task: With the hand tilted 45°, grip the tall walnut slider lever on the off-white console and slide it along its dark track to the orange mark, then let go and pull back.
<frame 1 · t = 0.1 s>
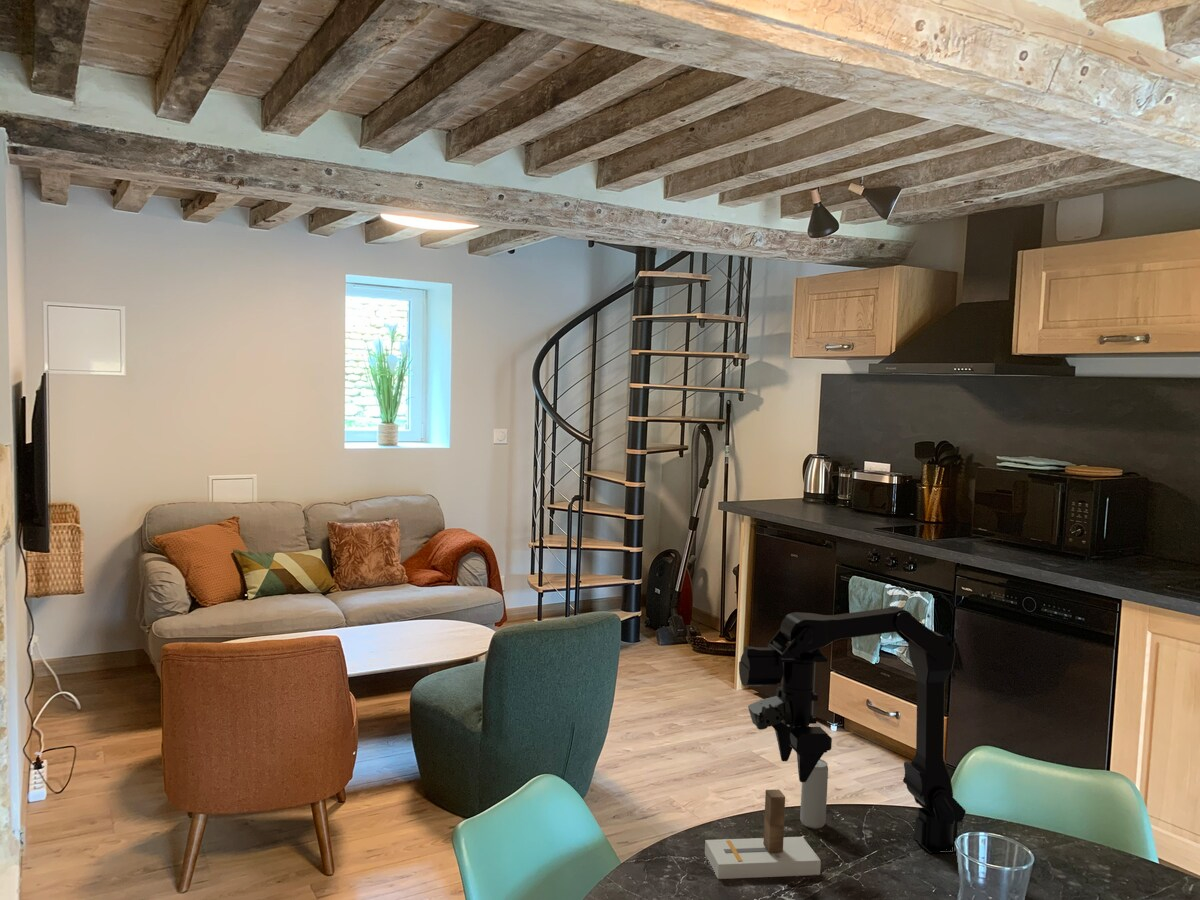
hand: (793, 771, 161), 15 cm above the table, tool pointing down, fingers open, 9 cm apart
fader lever: (774, 820, 156), point 8 cm above the table, slide at 0.0 cm
fader console: (761, 864, 156), on the table
beverage can: (812, 824, 172), on the table
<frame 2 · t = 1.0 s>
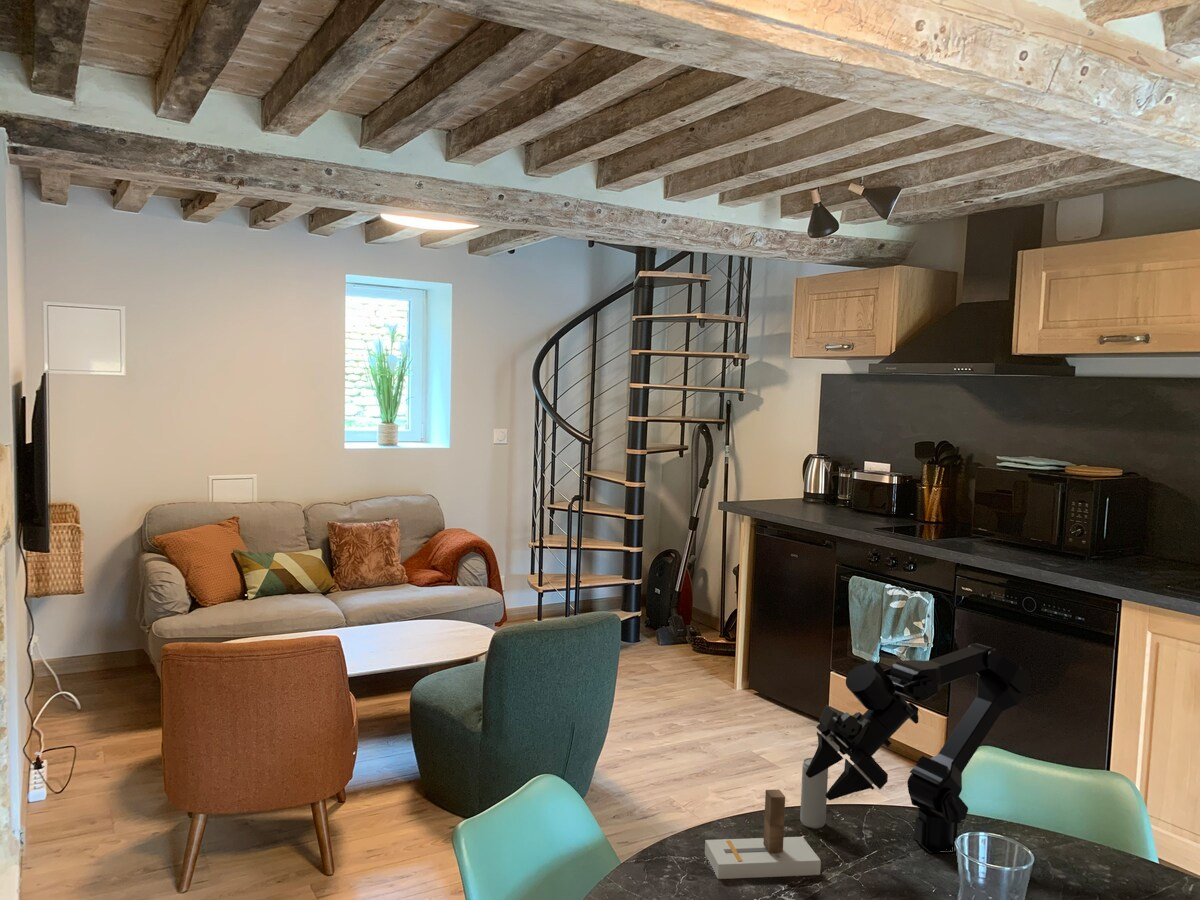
hand: (816, 786, 157), 13 cm above the table, tool tilted 45°, fingers open, 9 cm apart
nothing on the table moved.
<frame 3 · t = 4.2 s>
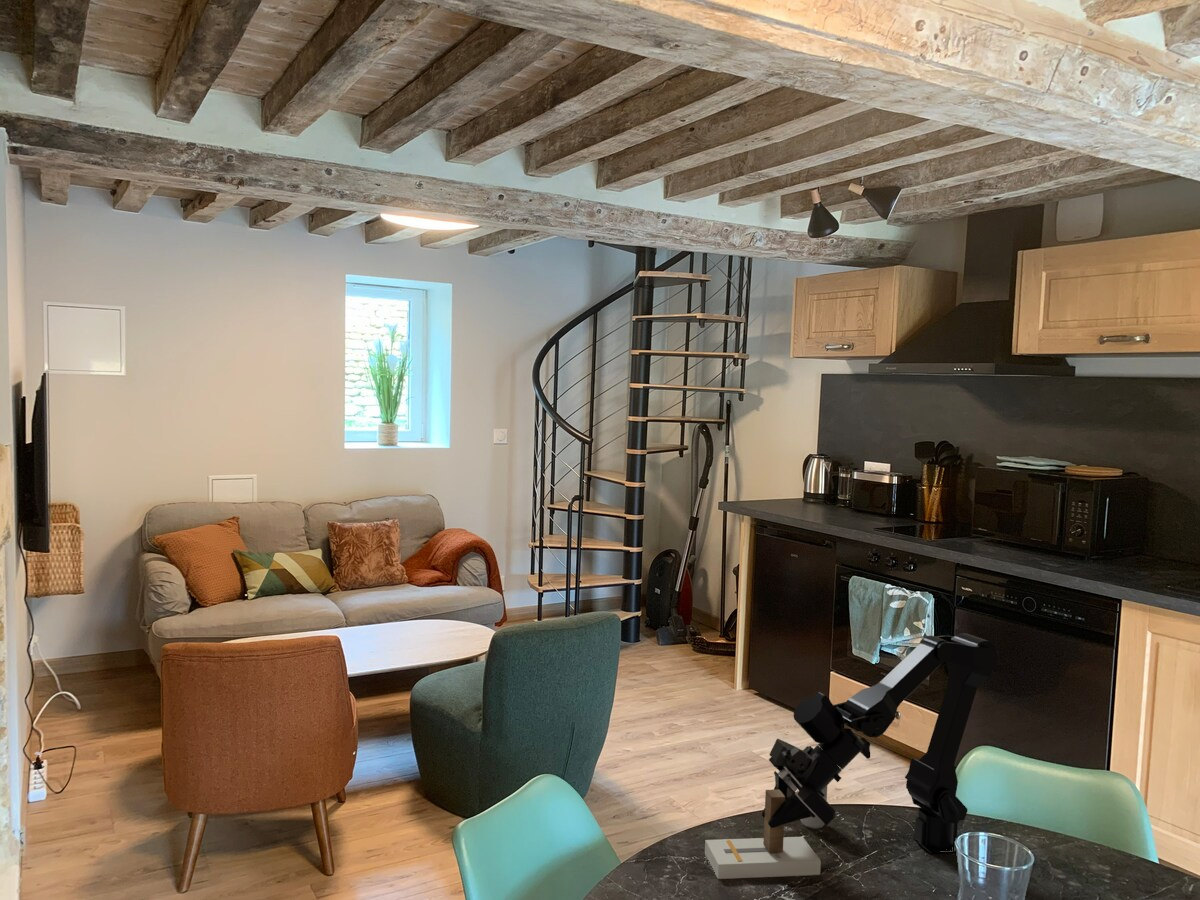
hand: (766, 821, 156), 8 cm above the table, tool tilted 45°, fingers closed on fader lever, 3 cm apart
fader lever: (774, 820, 156), point 8 cm above the table, slide at 0.0 cm, touching gripper
everything else where it was.
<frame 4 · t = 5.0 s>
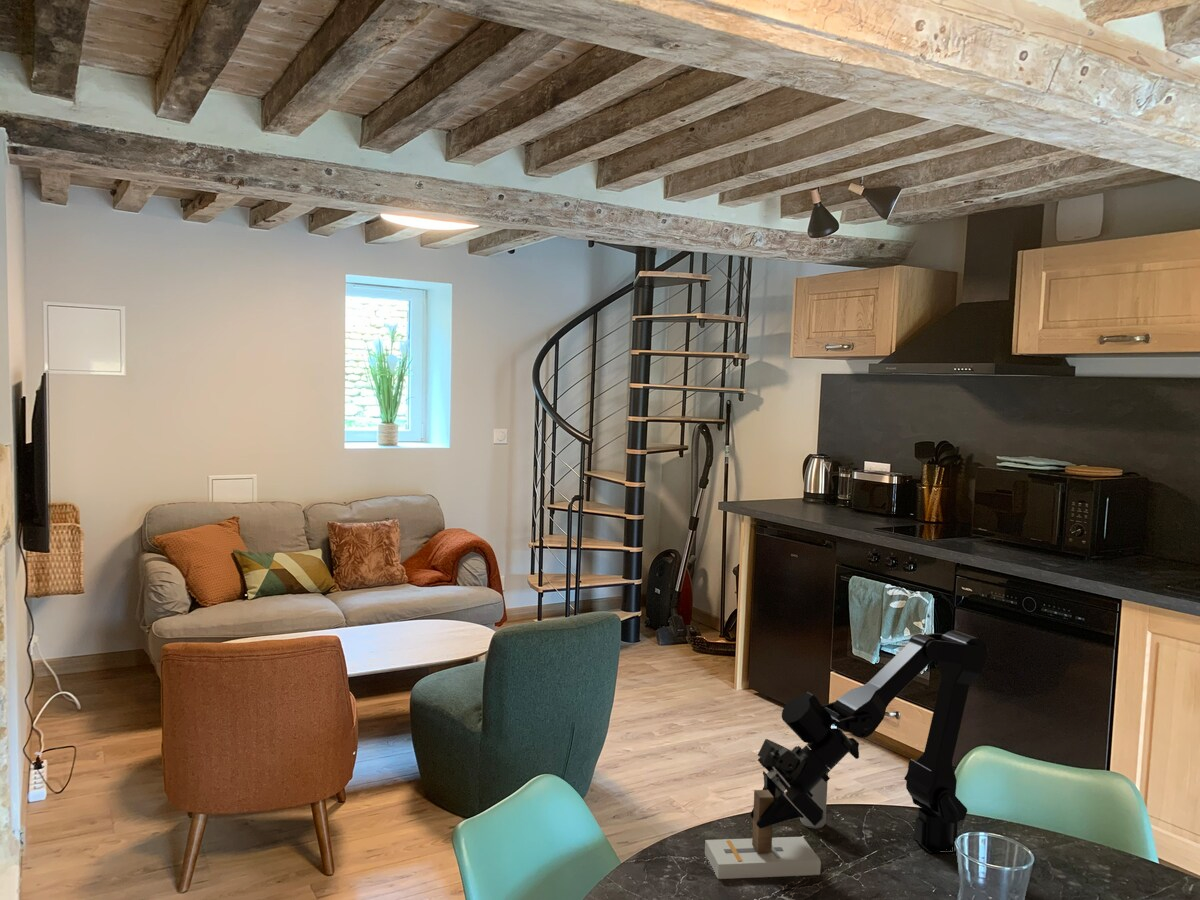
hand: (754, 821, 156), 8 cm above the table, tool tilted 45°, fingers closed on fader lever, 3 cm apart
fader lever: (762, 821, 156), point 8 cm above the table, slide at 2.1 cm, touching gripper
everything else where it was.
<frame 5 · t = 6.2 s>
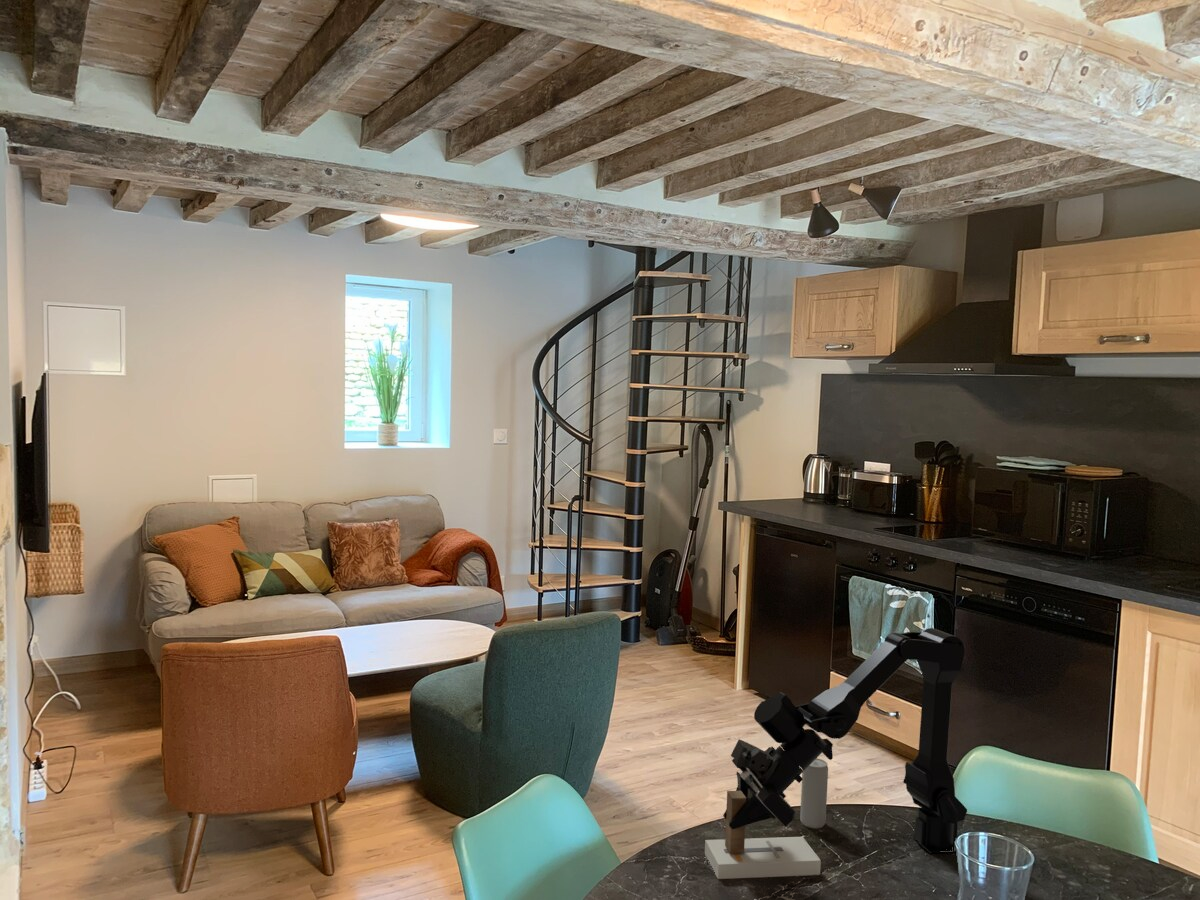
hand: (727, 822, 155), 8 cm above the table, tool tilted 45°, fingers closed on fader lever, 3 cm apart
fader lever: (735, 821, 155), point 8 cm above the table, slide at 7.0 cm, touching gripper
everything else where it was.
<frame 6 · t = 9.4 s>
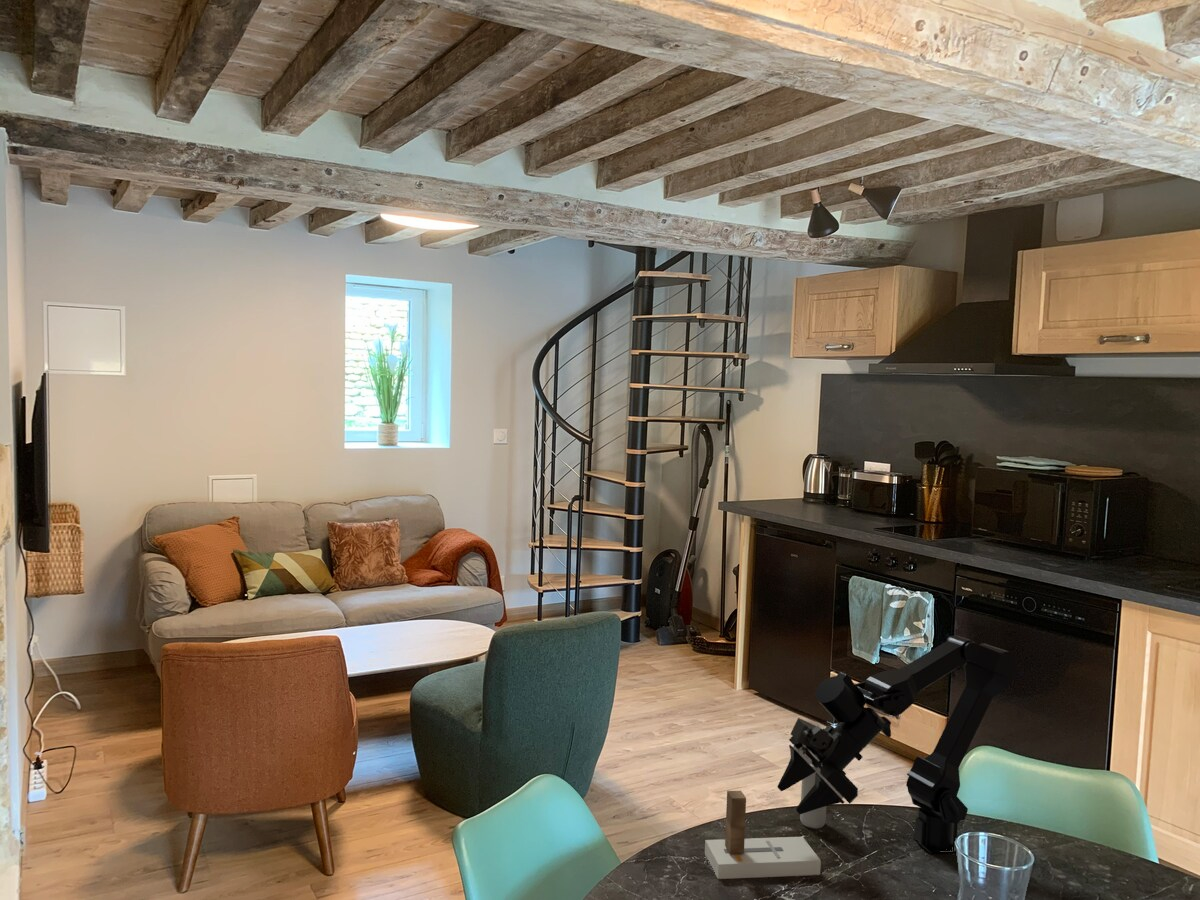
hand: (788, 800, 156), 11 cm above the table, tool tilted 45°, fingers open, 9 cm apart
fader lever: (735, 821, 155), point 8 cm above the table, slide at 7.0 cm
everything else where it was.
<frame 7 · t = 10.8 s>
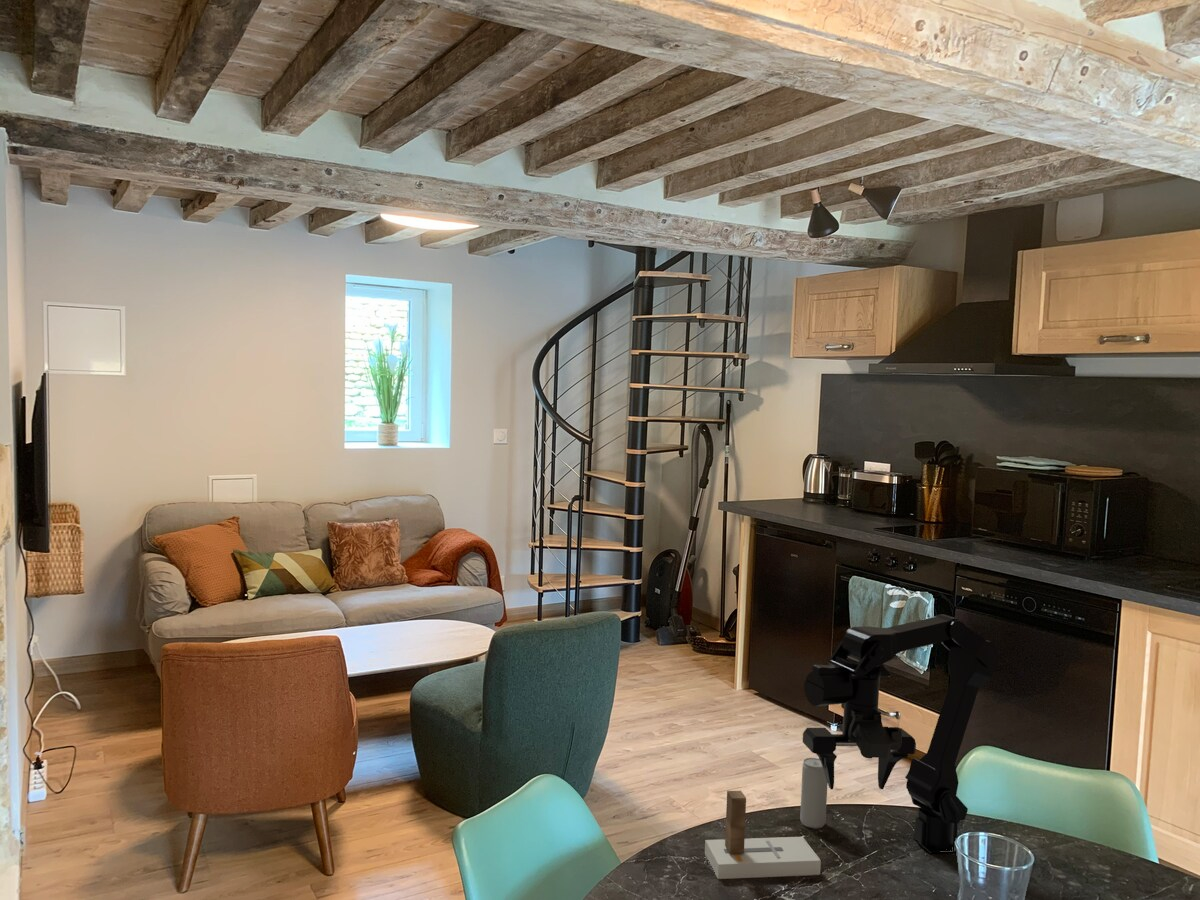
hand: (856, 788, 158), 13 cm above the table, tool pointing down, fingers open, 9 cm apart
nothing on the table moved.
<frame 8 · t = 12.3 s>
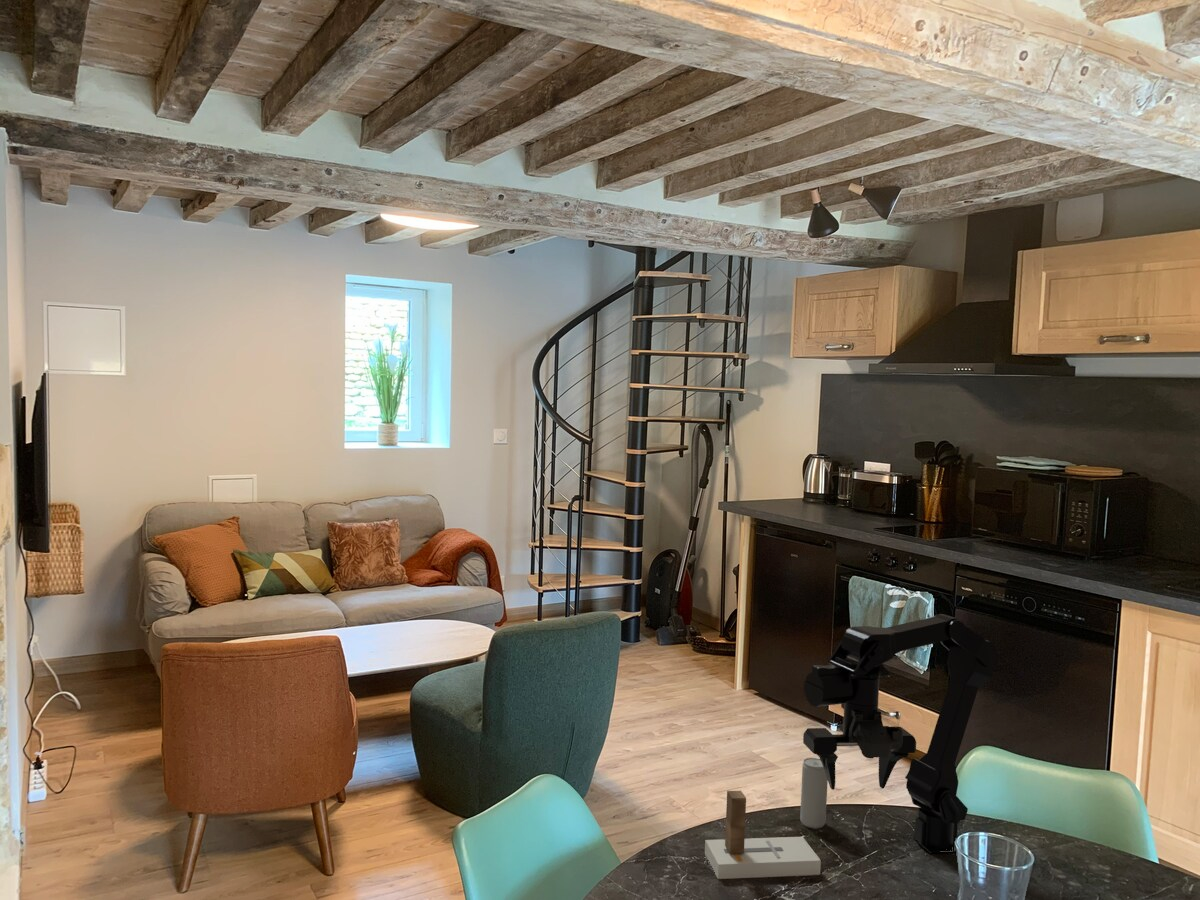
hand: (857, 788, 158), 13 cm above the table, tool pointing down, fingers open, 9 cm apart
nothing on the table moved.
at the end: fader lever slide at 7.0 cm; the gripper is holding nothing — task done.
